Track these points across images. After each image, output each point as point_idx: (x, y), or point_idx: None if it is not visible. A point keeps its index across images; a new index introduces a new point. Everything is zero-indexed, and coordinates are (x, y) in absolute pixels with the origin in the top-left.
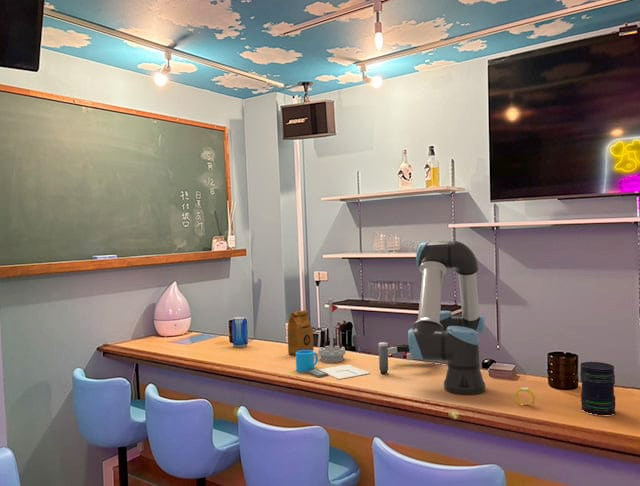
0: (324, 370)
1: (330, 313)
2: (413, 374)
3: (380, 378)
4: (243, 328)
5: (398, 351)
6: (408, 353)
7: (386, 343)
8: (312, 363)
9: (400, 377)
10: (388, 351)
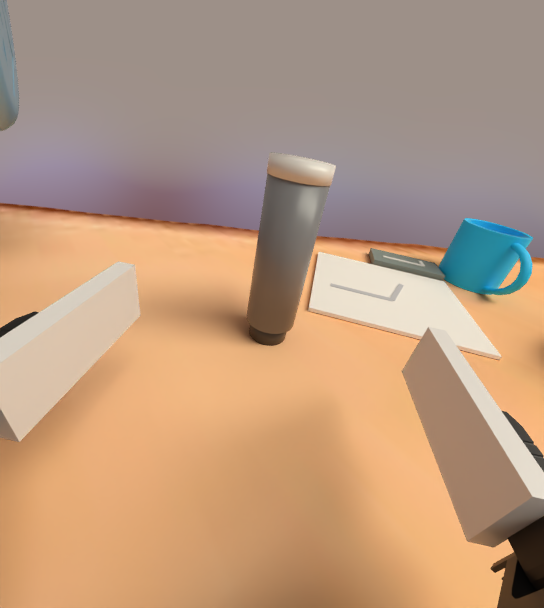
0: (427, 282)
1: None
2: (88, 385)
3: (228, 286)
4: None
5: (507, 591)
6: (117, 273)
7: (279, 155)
8: (456, 258)
9: (153, 316)
10: (424, 368)
